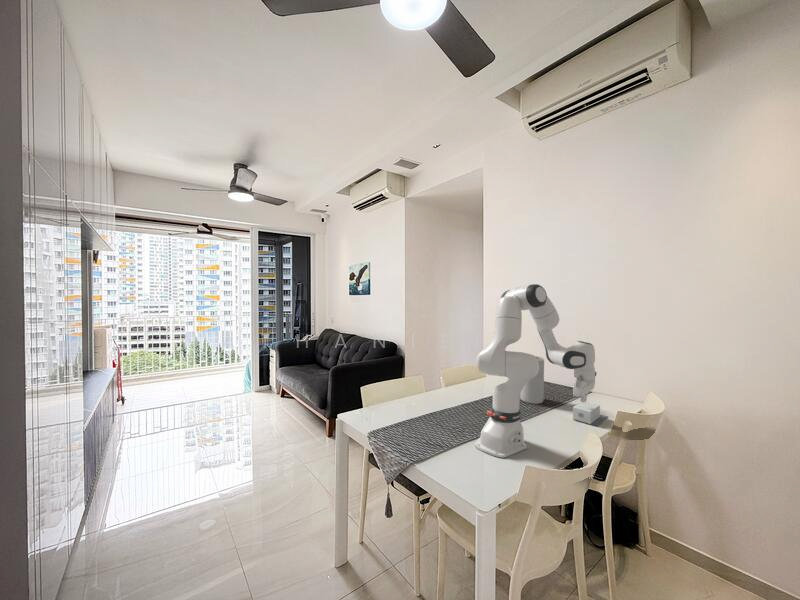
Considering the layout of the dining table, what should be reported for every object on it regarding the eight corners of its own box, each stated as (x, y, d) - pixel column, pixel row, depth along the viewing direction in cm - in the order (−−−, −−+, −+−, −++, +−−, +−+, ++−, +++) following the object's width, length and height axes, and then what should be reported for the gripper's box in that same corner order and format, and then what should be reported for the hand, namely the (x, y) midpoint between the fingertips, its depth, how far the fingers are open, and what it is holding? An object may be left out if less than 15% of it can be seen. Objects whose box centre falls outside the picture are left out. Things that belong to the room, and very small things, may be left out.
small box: (590, 424, 151) (600, 417, 159) (590, 411, 150) (600, 404, 159) (572, 419, 157) (582, 412, 165) (572, 406, 157) (582, 400, 165)
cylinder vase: (536, 396, 191) (537, 355, 190) (547, 404, 178) (548, 360, 177) (516, 396, 190) (517, 355, 189) (526, 404, 178) (527, 360, 176)
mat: (597, 426, 150) (597, 425, 150) (577, 420, 156) (577, 419, 156) (607, 417, 160) (607, 416, 160) (587, 411, 167) (587, 411, 167)
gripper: (584, 379, 146) (583, 409, 146) (597, 371, 160) (597, 398, 160) (569, 376, 150) (568, 405, 151) (583, 369, 164) (583, 395, 165)
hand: (583, 401), depth 156 cm, fingers closed
